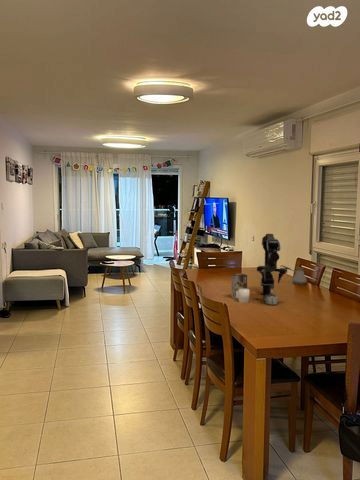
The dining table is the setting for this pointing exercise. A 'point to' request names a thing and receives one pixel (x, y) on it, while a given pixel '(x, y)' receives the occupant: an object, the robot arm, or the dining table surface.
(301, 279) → the coffee pot
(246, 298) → the mug
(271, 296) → the plunger
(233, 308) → the dining table surface
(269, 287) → the robot arm
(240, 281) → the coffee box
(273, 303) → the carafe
